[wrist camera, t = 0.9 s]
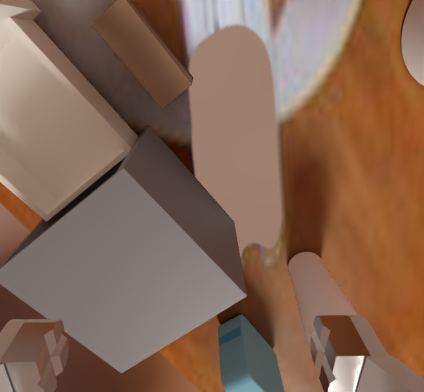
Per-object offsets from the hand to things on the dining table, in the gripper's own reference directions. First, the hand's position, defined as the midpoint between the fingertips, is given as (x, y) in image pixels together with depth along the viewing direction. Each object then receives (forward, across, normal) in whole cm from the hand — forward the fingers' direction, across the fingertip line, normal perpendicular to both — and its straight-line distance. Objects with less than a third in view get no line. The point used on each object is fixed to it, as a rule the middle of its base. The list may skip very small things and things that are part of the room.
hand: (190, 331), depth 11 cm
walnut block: (+35, +5, -7) cm, 36 cm away
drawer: (+34, +19, 0) cm, 38 cm away
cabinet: (+35, +8, +14) cm, 38 cm away
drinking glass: (+35, -16, +23) cm, 45 cm away
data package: (+35, -8, +38) cm, 53 cm away
